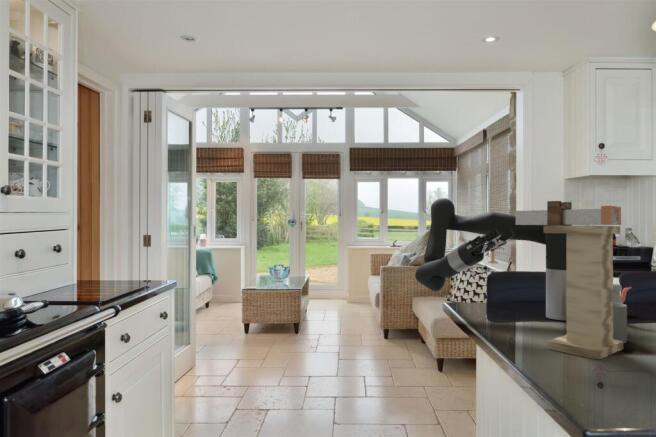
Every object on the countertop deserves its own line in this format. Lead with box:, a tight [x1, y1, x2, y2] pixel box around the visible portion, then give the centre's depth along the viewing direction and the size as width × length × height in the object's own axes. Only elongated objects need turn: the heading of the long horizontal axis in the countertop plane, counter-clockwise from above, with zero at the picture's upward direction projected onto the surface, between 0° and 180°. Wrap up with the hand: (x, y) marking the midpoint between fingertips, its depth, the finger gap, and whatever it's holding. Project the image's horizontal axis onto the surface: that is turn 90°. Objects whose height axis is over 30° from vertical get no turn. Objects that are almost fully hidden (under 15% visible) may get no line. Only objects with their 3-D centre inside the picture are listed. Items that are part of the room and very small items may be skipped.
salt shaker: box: [613, 283, 623, 304], centre depth 147 cm, size 6×6×13 cm
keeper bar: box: [515, 205, 622, 226], centre depth 118 cm, size 7×25×5 cm, turn 38°
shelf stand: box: [544, 200, 624, 361], centre depth 114 cm, size 16×14×39 cm
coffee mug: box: [613, 302, 628, 344], centre depth 126 cm, size 13×10×10 cm
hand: (505, 232), depth 131 cm, fingers open, 8 cm apart
